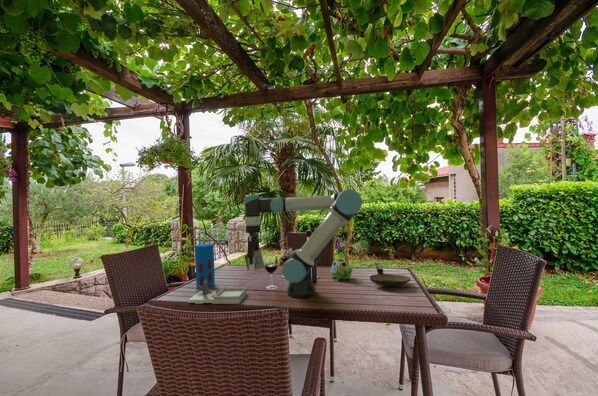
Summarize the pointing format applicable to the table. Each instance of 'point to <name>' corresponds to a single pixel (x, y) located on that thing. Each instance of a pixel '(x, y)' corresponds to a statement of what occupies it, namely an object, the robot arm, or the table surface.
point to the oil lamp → (388, 279)
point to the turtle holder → (341, 269)
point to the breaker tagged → (205, 288)
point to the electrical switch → (256, 260)
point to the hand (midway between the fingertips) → (254, 268)
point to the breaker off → (202, 289)
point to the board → (220, 296)
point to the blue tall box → (204, 264)
